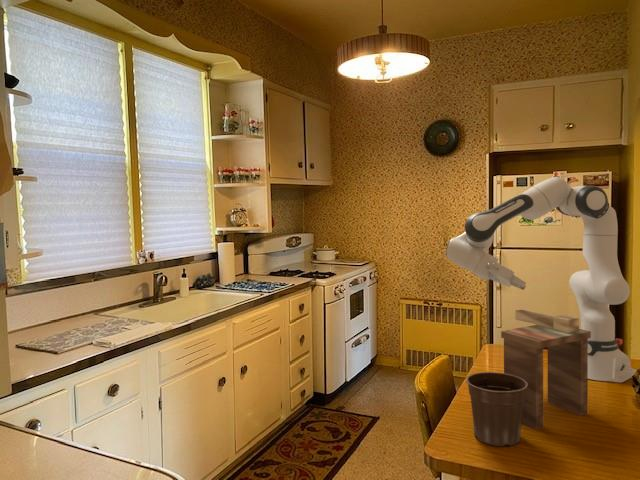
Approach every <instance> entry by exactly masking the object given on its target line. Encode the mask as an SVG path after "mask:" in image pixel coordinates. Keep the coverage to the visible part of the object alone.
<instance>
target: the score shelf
mask: <svg viewBox="0 0 640 480" xmlns="http://www.w3.org/2000/svg"><path fill="white" fill-rule="evenodd" d="M500 334H501V335H500V337H501V339H503V373H505V374H510V375H514V376H517V377H520V378H522V379H524V380H525V381H526V382H527V383H528V387H527V388H526V392H525V400H524V402H523V412H522V422H521V424H523V425H525V426H528V427H529V428H532V429H533V430H540V429H543V428H544V348H547V403H548V404H550V405H553V406H555V407H558V408H561V409H563V410H565V411H566V412H567V411H568V412H570V413H572V414H575V415H578V416H580V417H582V416H585V415H588V401H589V400H588V397H589V396H588V395H589V394H588V384H589V381H588V338H591V331H586V330H582V329H581V328H579V331H576V332H571V333H565V332H561V331H557V330H554V329H553V328H549V327H545V326H541V325H537V324H533V325H528V326H523V327H517V328H511V329H510V328H509V329H506V330H502V331H501V332H500Z"/></svg>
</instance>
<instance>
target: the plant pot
mask: <svg viewBox="0 0 640 480" xmlns="http://www.w3.org/2000/svg"><path fill="white" fill-rule="evenodd" d="M465 380H466V384H467V386H468V395H469V396H470V402H471V413H472V414H471V415H472V422H473V434H474V437H476V438H477V440H478V441H480V442H482V443H484V444H486V445H489V446H495V447H504V446H509V447H511V446H515V445H517V444H518V443H520V441H521V433H522V432H521V431H522V423H521V422H522V412H523V402H524V400H525V392H526V388H527V387H528V383H527V382H526V381H525V380H524V379H522V378H520V377H517V376H514V375H510V374H505V373H504V372H497V371H485V372H483V371H482V372H481V371H480V372H476V373H472V374H470V375H468V376H467V377H466V379H465Z"/></svg>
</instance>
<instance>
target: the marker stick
mask: <svg viewBox="0 0 640 480" xmlns="http://www.w3.org/2000/svg"><path fill="white" fill-rule="evenodd" d="M514 317H515V318H514V319H515V320H517V321H521V322H525V323H527V324H528V323H530V324H533V325H541V326H545V327H549V328H553V329H554V330H557V331H561V332H565V333H571V332H576V331H579V329H580V317H578V316H577V317H576V316H572V315H567V314H562V315H558V316H557V315H556V316H554V315H553V316H552V315H548V314H544V313H540V312H539V313H538V312H533V311H531V310H530V311H529V310H525V309H518V310H515V315H514Z"/></svg>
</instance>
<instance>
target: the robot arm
mask: <svg viewBox="0 0 640 480" xmlns="http://www.w3.org/2000/svg"><path fill="white" fill-rule="evenodd" d="M555 209H556V210H557V212H559V213H560V214H562V215H565V216H568V217H569V216H572V217H581V219H582V222H583V233H582V236H583V238H582V256H583V258H584V259H585V261H586V263H587V266H588V269H584V270H583V269H582V270H578V271H576V272H574V273H573V274H572V275H571V277H570V278H569V282H568V285H569V288H570V290H571V291H572V293H573V294H574V296H575V300H576V303H577V305H578V310H579V314H580V315H579V316H580V329H582V330H586V331H591V338H588V379H589V380H592V381H593V380H594V381H598V382H599V381H600V382H613V383H624V382H625V381H628V380H630V379H631V378H633V377H632V376H633V375H634V374H635V372H636V371H637V369H634V368H632V366H631V359H630V357H629V356H628V355H627V354H626V353H624V352H623V351H621V349H620V348H619V346H618V345H622V344H623V341H624V340H623V339H622V338H617V337H616V320H615V316H614V314H612V312H611V310H610V308H609V306H610V305H613V306H614V305H621V304H623V303H625V302H626V301H627V300H628V298H629V297H630V295H631V294H630V293H631V288H630V285H629V283H628V282H627V280H625V278H624V276H623V274H622V271H621V268H620V265H619V260H618V237H619V236H618V235H619V234H618V233H619V232H618V231H619V229H618V227H619V225H618V217H617V212H616V209H614V207H612V206H610V203H609V198H608V195H607V193H606V191H605V190H604V189H602V188H601V187H599V186H596V185H591V184H589V185H577V186H571V187H570V185H569V184H568V182H567V181H566V180H565V179H564V178H562V177H560V176H552V177H549V178H546V179H545V180H542V181H540V182H538V183H536V184H535V185H533V186H532V187H529V188H528V189H527V190H525V191H523V192H522V193H520V194H519V195H518V194H517V195H516V196H514V197H512V198H509V199H508V200H506V201H504V202H502V203H500V204H499V205H496V206H494V207H493V208H490V209H489V210H488V209H487V210H483V211H479V212H475V213H473V214H471V215H470V216H468V218H467V219H466V220H465V223H464V232H463V233H462V234H460V235H458V236H455V237H452V238H451V239H449V241H448V243H447V246H446V249H445V256H446V258H447V259H448V260H449V261H450V262H452V263H453V264H455V265H456V266H458V267H460V268H462V269H463V270H464V269H465V270H468V271H470V272H471V273H472V274H474V275H475V276H476V277H479V278H480V279H483V280H484V281H490V280H491V281H493V282H496V283H498V284H500V285H503V286H505V287H509V288H510V287H511V286H513V287H514V288H517V289H520V290H521V291H524V290H525V289H526V284H527V282H526V281H524V280H522V279H521V278H519V277H518V276H516V275H515V271H513V270H512V269H510V268H508V267H506V266H504V265H502V263H500V262H498V261H499V258H497V257H496V256H494V255H492V254H490V253H488V252H487V251H488V250H489V248H490V247H492V244H493V241H494V235H495V232H496V231H497V229H498V228H499V227H500V226H502V225H503V224H505V223H507V222H509V221H511V220H513V219H514V218H516V217H519V216H521V218H523V219H525V220H528V221H529V220H530V221H534V220H537V219H540V218H542V217H543V216H545V215H547V214H548V213H551V212H552V211H554V210H555ZM608 305H609V306H608ZM615 337H616V338H615Z"/></svg>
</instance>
